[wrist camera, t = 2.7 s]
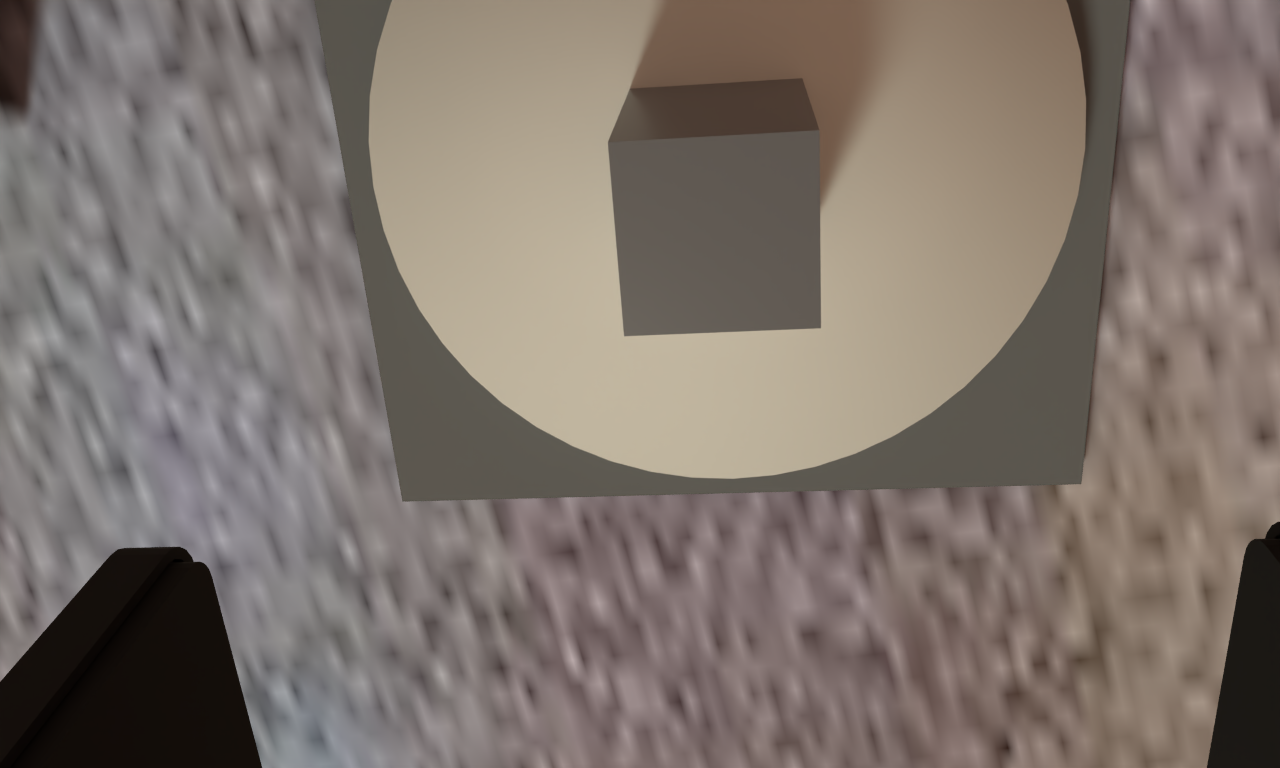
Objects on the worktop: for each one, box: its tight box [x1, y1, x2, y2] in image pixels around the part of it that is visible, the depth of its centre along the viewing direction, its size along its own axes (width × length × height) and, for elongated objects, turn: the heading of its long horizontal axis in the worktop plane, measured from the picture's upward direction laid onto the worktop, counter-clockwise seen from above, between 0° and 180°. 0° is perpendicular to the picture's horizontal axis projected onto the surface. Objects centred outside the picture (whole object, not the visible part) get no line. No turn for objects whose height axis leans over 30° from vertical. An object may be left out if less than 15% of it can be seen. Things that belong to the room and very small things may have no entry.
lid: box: [369, 0, 1086, 479], centre depth 26 cm, size 17×17×6 cm
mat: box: [314, 0, 1130, 501], centre depth 29 cm, size 19×19×1 cm
